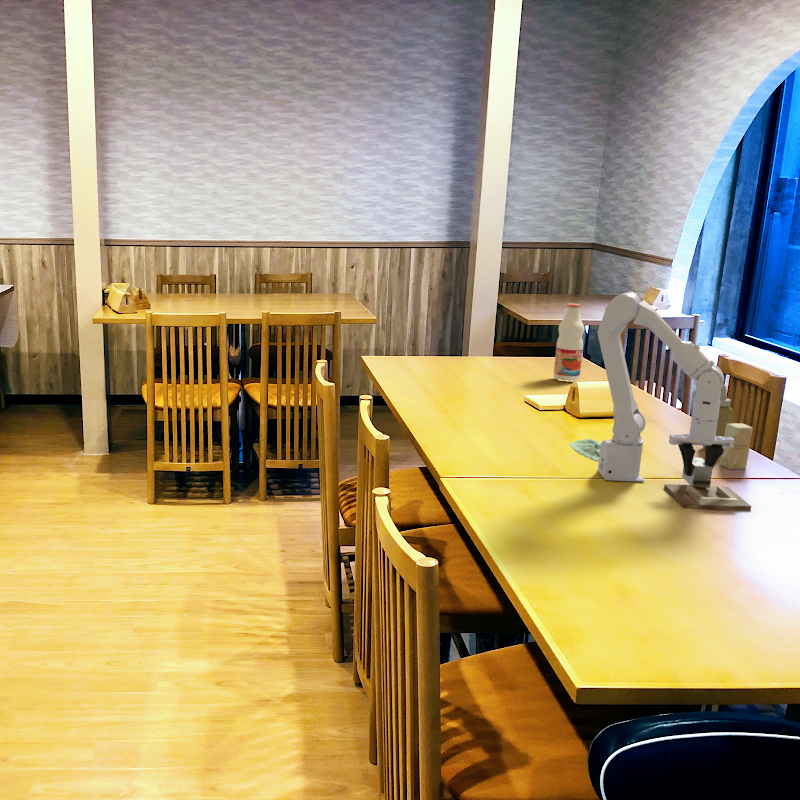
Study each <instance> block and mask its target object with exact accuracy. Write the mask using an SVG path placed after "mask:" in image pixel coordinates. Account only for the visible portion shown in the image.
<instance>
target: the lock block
mask: <svg viewBox="0 0 800 800" xmlns="http://www.w3.org/2000/svg"><path fill="white" fill-rule="evenodd" d="M712 468H713V469H714V467H712V466H711V465H710V464H708V463H707V462H706V461H705V460H704V458H702V457H693V461H692V468H691V474H690V476H687V475H686V474H685V473H684V465H683V468H682V475H681V478H682V479H684V481H685V482H686V483H688V485H692V486H693V487H703V488H710V486H711V483H712V476H713V475H712V473H713V469H712Z"/></svg>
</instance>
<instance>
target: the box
mask: <svg viewBox="0 0 800 800" xmlns="http://www.w3.org/2000/svg"><path fill="white" fill-rule="evenodd" d="M753 428H754V427H752V426H750V425H748V424H745V423H743V422H742V423H736V422H735V423H734V422H732V424H726V430H725V436H724V437H731V438H733V439H734V446H733V447H728V446H723V449H724V452H723V454H722V455H721V456H720V461H719V464H720V466H722V467H725V468H727V469H729V470H746V469H747V464H748V458H749V452H750V446H751V440H752V435H753V430H754V429H753Z"/></svg>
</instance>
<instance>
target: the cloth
mask: <svg viewBox="0 0 800 800" xmlns="http://www.w3.org/2000/svg"><path fill="white" fill-rule="evenodd" d="M601 443H602V442H601V441H597V440H595V439H593V438H586V439H585V438H583V439H580V440H579V439H578V440H575V441H573V442H570V443H569V446H570V448H572V449H573V450H574V452H576V453H578V454H579V455H581V456H584V457H586V458H588V459H590V460H592V461H595V462H597V463H599V456H600V447H601Z"/></svg>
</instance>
